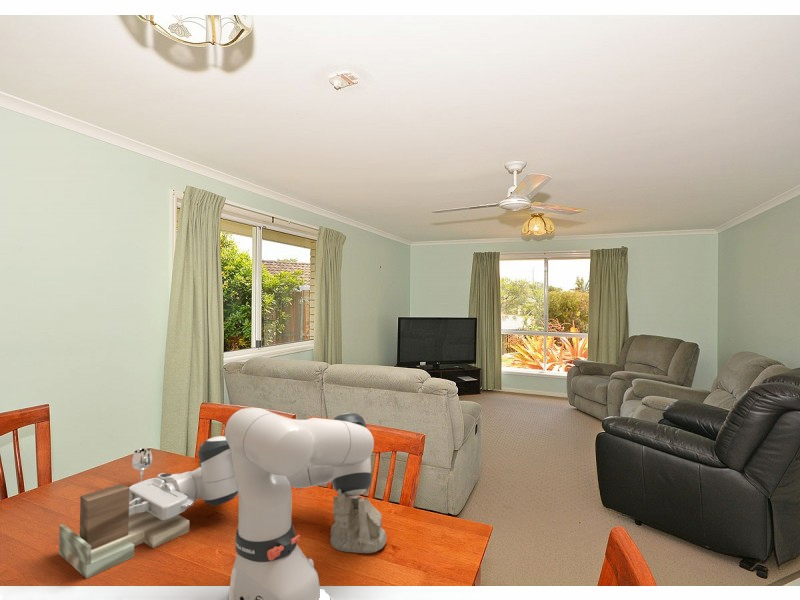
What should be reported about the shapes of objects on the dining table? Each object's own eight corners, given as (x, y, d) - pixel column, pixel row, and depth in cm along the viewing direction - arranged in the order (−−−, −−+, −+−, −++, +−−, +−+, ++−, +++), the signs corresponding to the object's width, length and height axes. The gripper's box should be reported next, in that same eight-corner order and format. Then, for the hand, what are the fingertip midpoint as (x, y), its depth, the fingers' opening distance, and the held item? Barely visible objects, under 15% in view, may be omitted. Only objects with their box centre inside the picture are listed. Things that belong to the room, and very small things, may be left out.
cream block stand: (189, 531, 116) (189, 506, 116) (86, 578, 96) (87, 547, 96) (158, 514, 125) (159, 490, 125) (58, 553, 105) (59, 525, 105)
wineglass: (127, 488, 141) (128, 452, 141) (142, 481, 146) (143, 446, 146) (140, 491, 139) (141, 454, 139) (155, 484, 144) (156, 449, 144)
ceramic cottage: (377, 557, 105) (372, 496, 105) (318, 549, 111) (314, 491, 111) (398, 524, 120) (394, 471, 120) (345, 518, 125) (341, 467, 125)
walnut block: (128, 535, 108) (129, 487, 108) (87, 551, 101) (88, 501, 101) (120, 529, 111) (121, 483, 111) (79, 545, 103) (80, 496, 103)
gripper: (198, 513, 115) (144, 535, 104) (159, 492, 127) (106, 511, 115) (198, 489, 115) (145, 510, 104) (159, 471, 127) (107, 488, 115)
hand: (124, 510), depth 110 cm, fingers closed, pressing on walnut block
